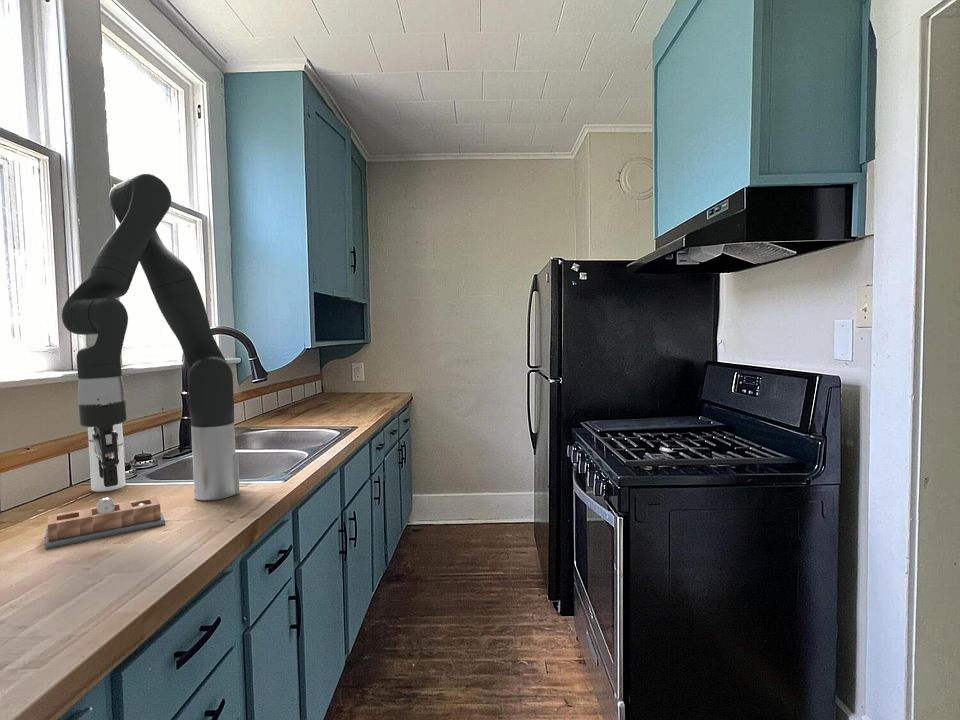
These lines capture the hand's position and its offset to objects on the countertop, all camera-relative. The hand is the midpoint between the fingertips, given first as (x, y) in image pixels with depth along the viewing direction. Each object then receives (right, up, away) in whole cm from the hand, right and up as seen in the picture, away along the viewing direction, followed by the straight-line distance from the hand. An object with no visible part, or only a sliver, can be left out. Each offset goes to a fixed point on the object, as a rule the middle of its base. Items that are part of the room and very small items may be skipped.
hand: (108, 481), depth 106 cm
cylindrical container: (-21, -9, +30) cm, 37 cm away
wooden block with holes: (-1, -9, +1) cm, 9 cm away
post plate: (-1, -10, +1) cm, 10 cm away
